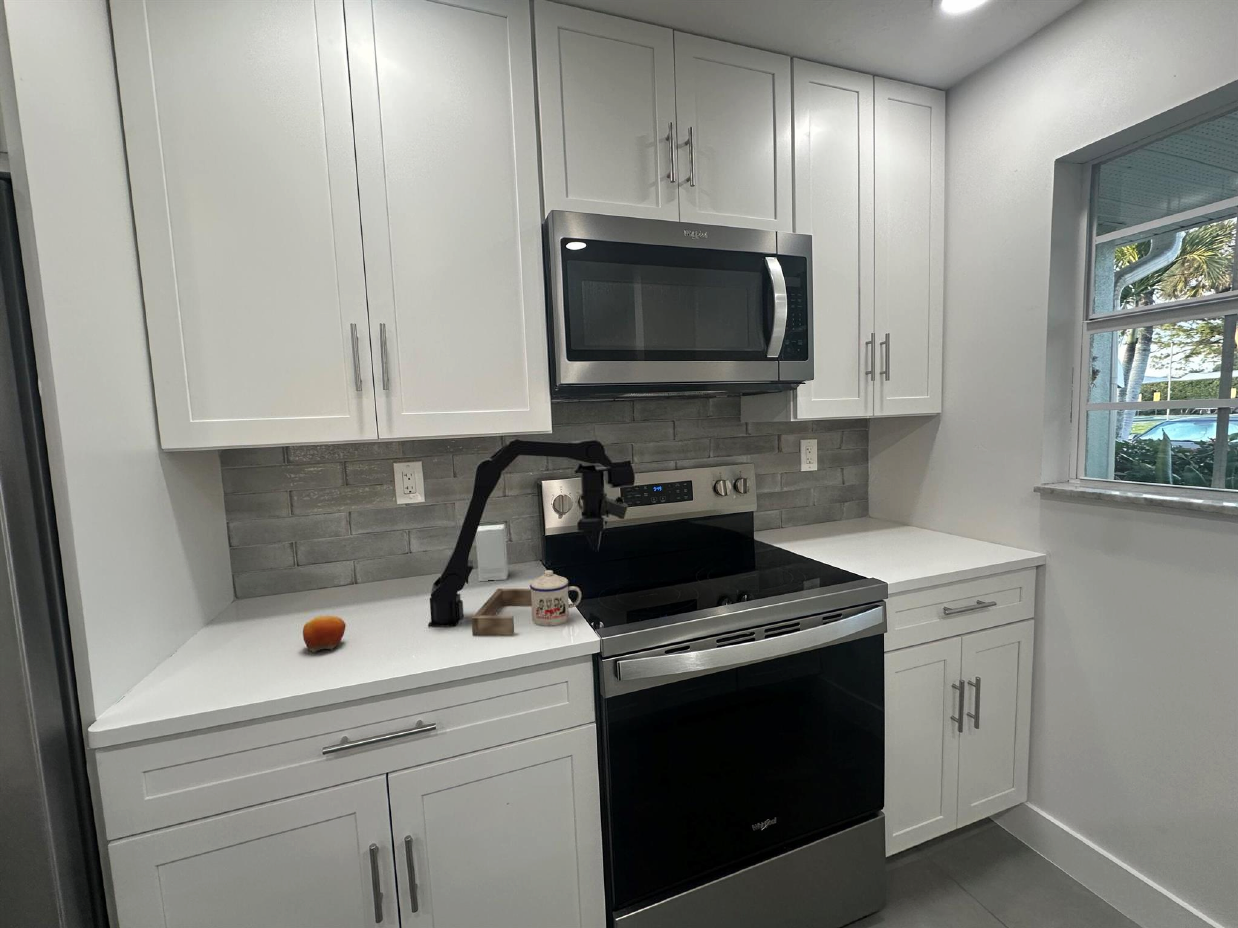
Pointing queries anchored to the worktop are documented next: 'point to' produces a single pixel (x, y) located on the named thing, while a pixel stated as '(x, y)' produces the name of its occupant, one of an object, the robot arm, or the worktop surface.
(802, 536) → the worktop surface
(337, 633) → the fruit
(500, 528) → the skincare box
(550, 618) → the teacup with lid
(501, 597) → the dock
